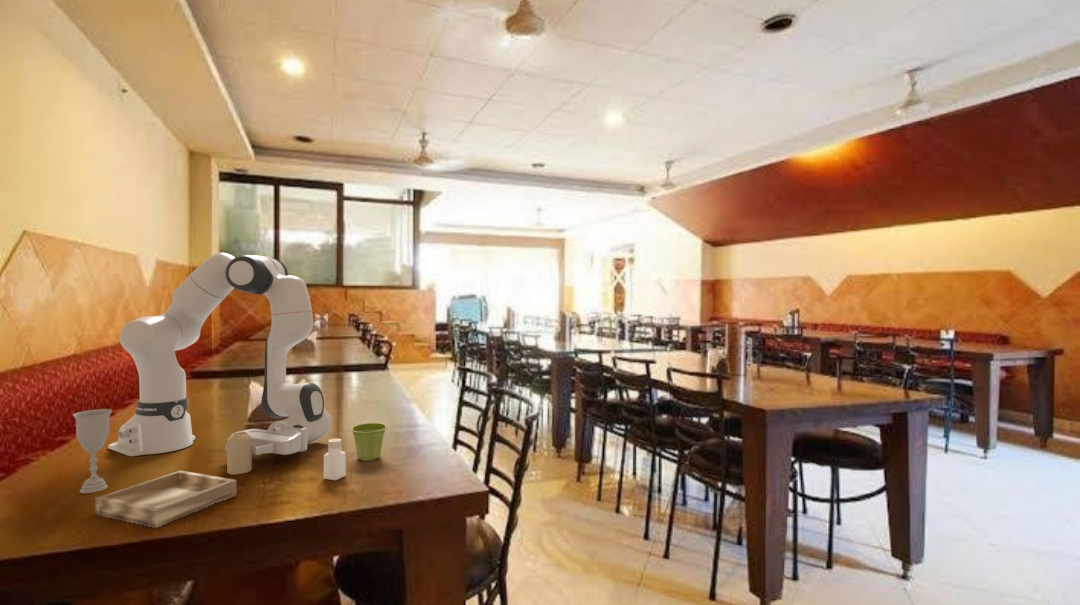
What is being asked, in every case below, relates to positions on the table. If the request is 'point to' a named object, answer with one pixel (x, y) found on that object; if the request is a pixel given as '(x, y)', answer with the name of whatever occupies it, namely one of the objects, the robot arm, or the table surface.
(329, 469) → the salt shaker
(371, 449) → the plant pot
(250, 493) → the table surface
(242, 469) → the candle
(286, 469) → the table surface
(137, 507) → the tray
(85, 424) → the chalice
